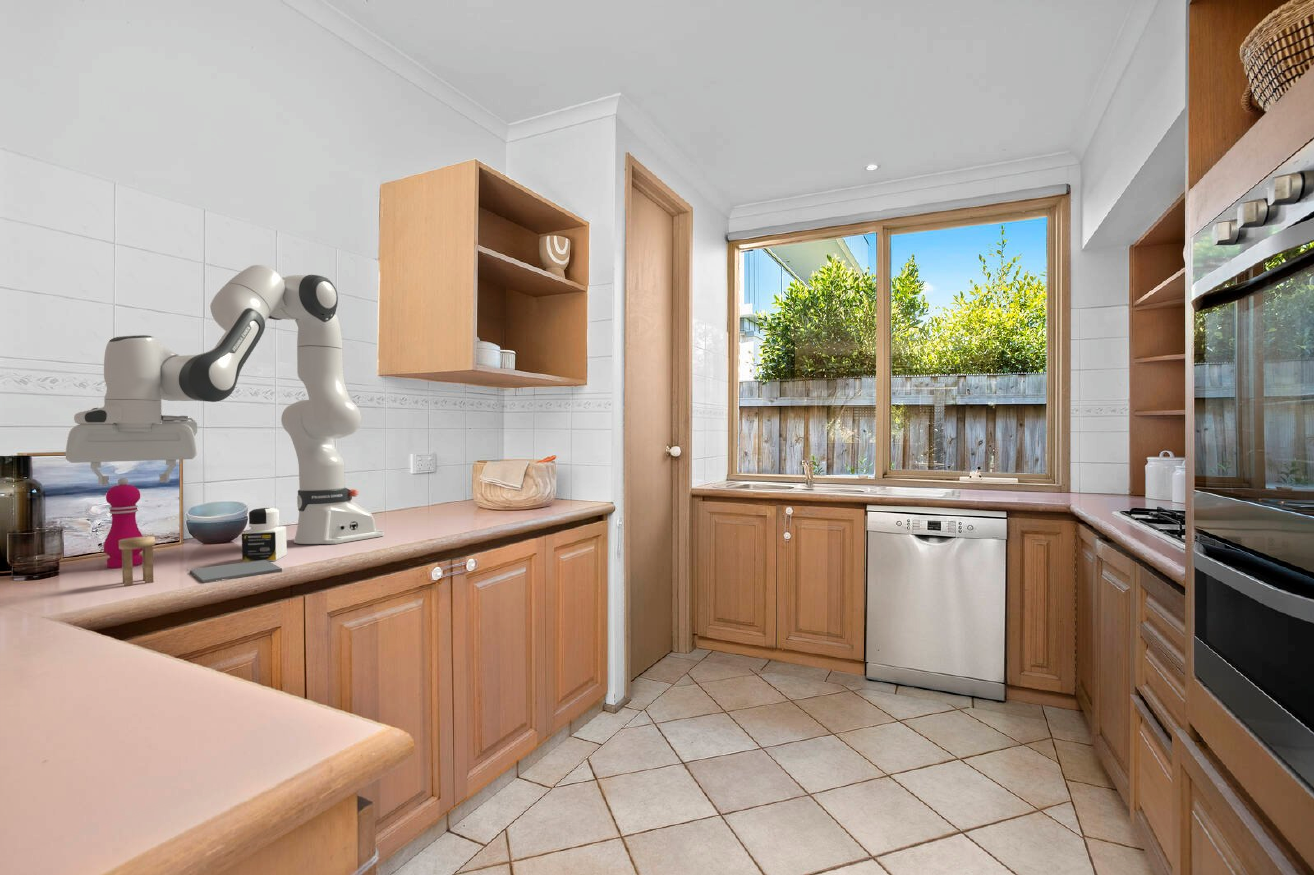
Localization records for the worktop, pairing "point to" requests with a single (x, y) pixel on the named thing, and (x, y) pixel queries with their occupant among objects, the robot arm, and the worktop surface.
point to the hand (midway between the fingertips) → (134, 483)
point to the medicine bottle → (264, 536)
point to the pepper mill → (122, 522)
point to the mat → (235, 570)
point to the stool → (147, 557)
